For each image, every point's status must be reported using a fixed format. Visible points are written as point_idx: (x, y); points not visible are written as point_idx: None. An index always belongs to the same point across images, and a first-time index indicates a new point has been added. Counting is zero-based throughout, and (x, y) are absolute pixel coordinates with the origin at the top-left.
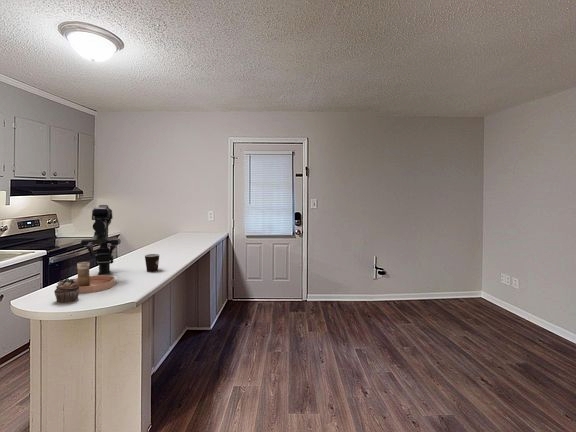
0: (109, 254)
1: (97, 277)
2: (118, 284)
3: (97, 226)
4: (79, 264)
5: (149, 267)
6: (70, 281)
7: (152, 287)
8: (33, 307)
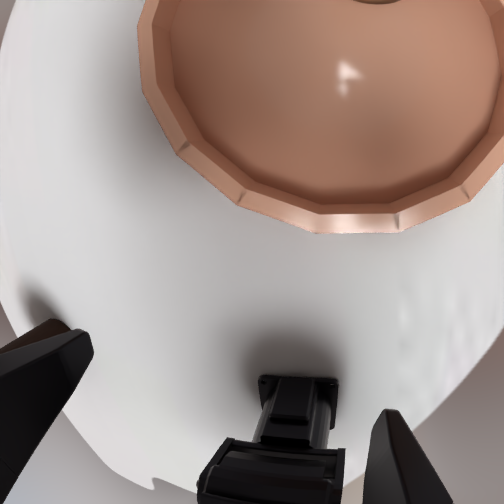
0: (202, 494)
1: (319, 209)
2: None
3: None
4: None
5: (47, 335)
6: None
7: (13, 15)
8: None
